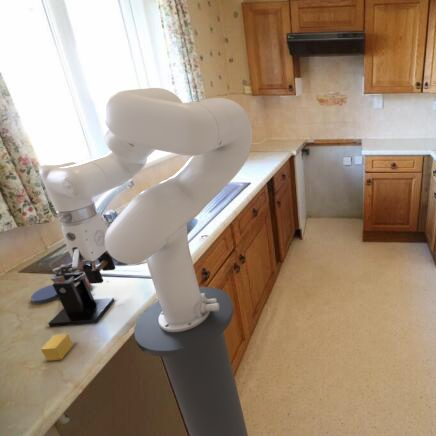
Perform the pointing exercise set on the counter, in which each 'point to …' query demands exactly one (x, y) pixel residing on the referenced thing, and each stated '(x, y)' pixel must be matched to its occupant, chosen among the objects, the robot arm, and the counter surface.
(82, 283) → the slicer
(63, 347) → the butter
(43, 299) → the dish
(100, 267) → the lever
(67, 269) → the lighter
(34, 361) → the counter surface
